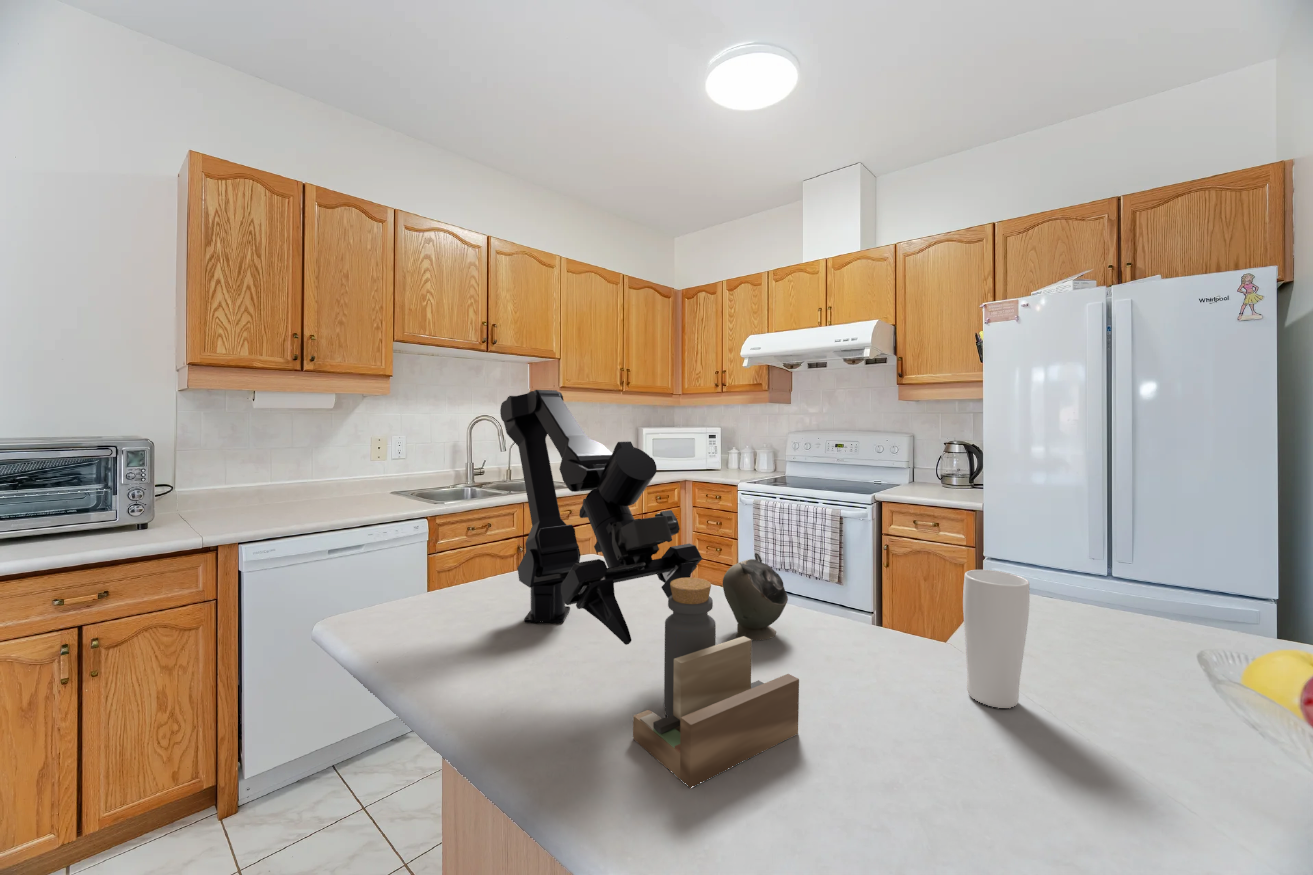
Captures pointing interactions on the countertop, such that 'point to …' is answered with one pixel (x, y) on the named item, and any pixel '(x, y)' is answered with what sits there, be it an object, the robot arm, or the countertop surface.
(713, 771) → the wooden rack
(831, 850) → the countertop surface
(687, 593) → the bottle
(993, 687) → the drinking glass
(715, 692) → the wooden flat panel
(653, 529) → the robot arm
